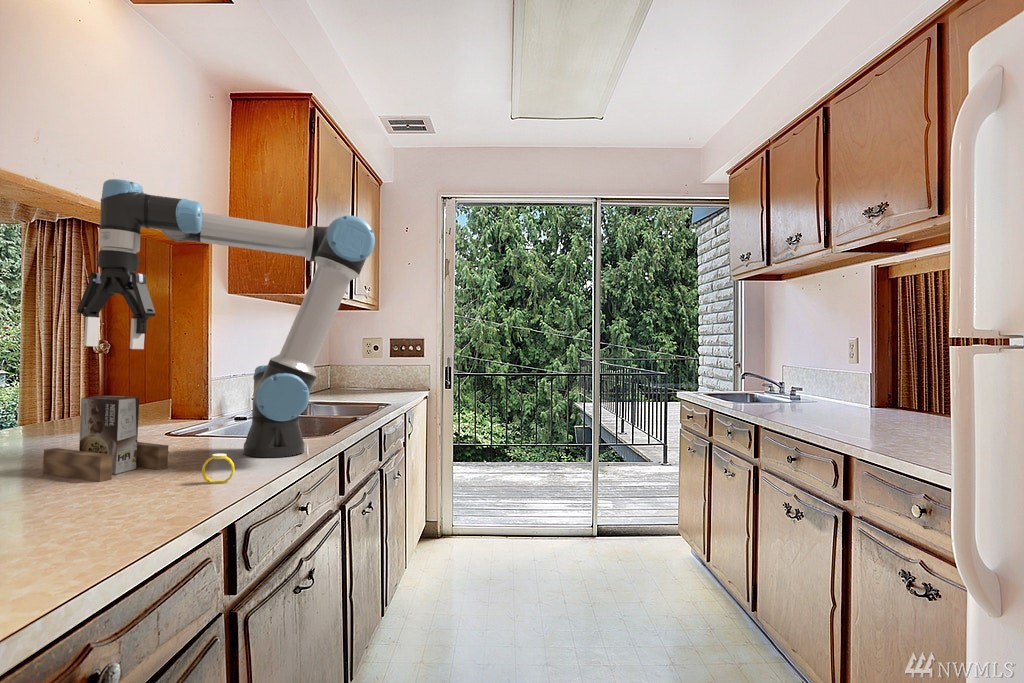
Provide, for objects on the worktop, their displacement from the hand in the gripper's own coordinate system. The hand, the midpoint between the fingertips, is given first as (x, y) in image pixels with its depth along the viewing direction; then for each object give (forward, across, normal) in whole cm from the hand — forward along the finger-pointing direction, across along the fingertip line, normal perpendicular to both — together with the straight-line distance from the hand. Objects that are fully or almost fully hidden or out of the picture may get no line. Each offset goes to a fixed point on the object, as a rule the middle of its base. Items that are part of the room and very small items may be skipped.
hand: (113, 347), depth 129 cm
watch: (+27, +29, +2) cm, 39 cm away
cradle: (+27, +1, 0) cm, 27 cm away
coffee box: (+27, +1, 0) cm, 27 cm away
